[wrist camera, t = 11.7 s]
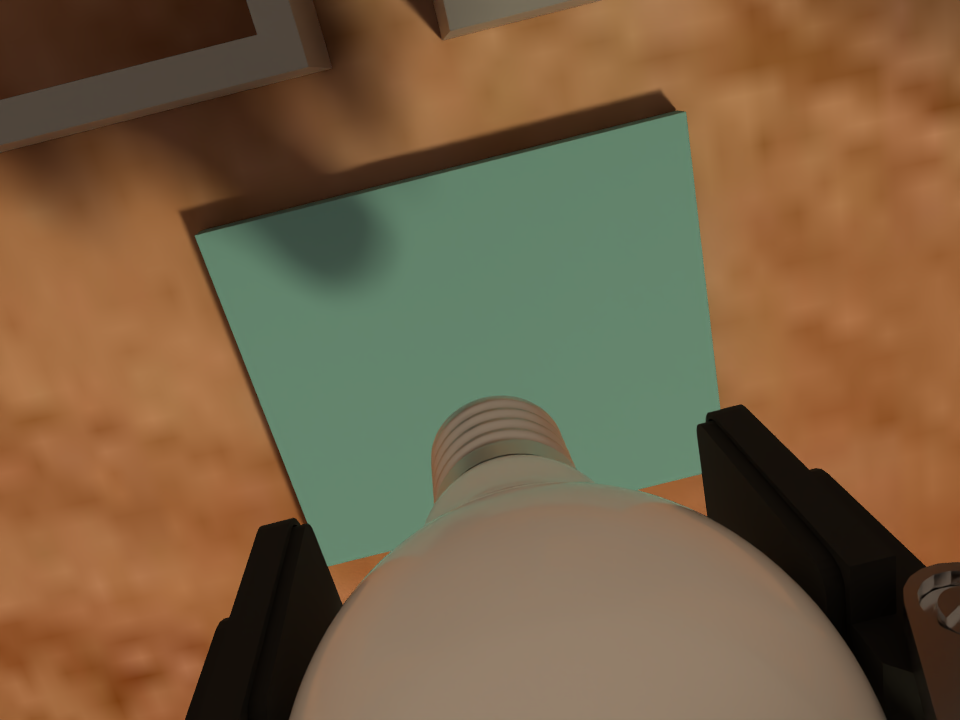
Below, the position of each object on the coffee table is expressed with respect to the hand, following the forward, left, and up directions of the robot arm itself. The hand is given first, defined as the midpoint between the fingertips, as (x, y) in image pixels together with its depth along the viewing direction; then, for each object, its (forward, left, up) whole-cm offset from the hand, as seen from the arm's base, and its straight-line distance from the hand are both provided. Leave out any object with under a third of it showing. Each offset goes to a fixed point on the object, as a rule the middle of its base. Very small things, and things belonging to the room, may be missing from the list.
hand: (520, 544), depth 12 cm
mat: (0, 0, -8) cm, 8 cm away
